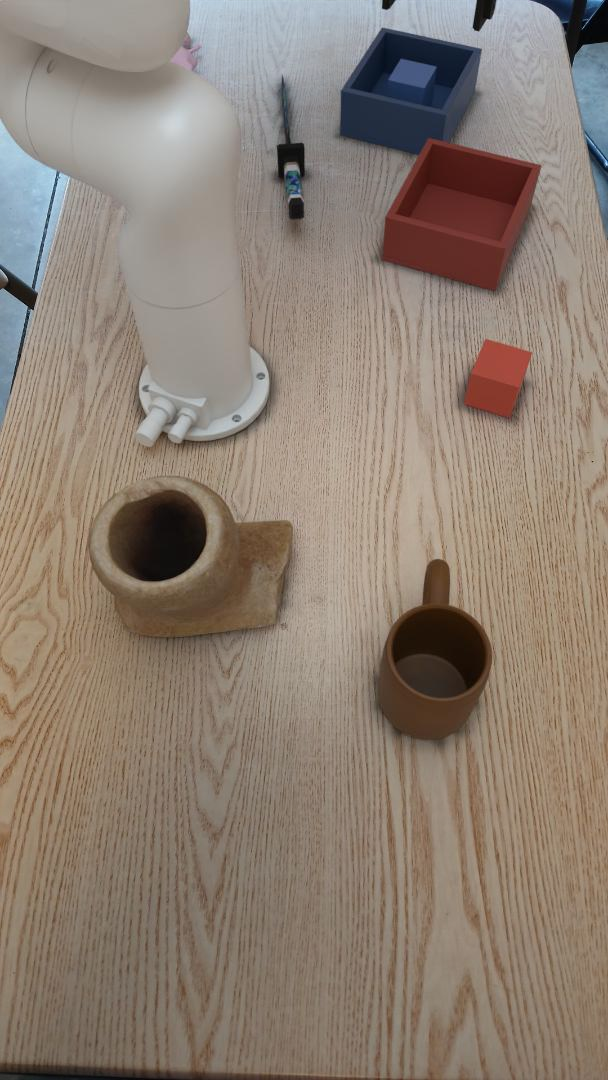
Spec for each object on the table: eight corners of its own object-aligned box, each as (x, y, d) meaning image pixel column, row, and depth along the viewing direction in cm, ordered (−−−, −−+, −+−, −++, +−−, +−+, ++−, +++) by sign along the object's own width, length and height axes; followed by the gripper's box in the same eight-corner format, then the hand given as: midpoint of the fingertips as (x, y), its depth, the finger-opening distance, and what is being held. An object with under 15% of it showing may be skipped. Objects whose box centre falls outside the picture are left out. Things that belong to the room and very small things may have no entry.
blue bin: (440, 159, 97) (446, 115, 92) (339, 135, 100) (340, 90, 95) (474, 93, 103) (482, 48, 98) (379, 72, 106) (382, 26, 101)
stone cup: (113, 670, 67) (62, 588, 54) (120, 541, 73) (76, 440, 60) (300, 658, 67) (295, 574, 54) (293, 531, 73) (286, 427, 60)
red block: (509, 418, 79) (519, 387, 75) (463, 404, 79) (471, 372, 76) (522, 383, 81) (532, 352, 77) (477, 370, 81) (485, 338, 78)
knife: (305, 241, 89) (305, 203, 85) (277, 241, 89) (275, 203, 85) (303, 97, 107) (302, 60, 103) (279, 97, 107) (278, 61, 103)
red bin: (495, 291, 87) (505, 248, 82) (381, 259, 89) (385, 216, 84) (530, 209, 93) (541, 164, 88) (422, 181, 95) (428, 137, 90)
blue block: (420, 124, 99) (424, 88, 96) (385, 115, 100) (387, 79, 96) (432, 102, 101) (437, 66, 98) (397, 94, 102) (400, 58, 98)
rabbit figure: (156, 53, 111) (153, 104, 102) (148, 3, 106) (144, 51, 97) (202, 50, 111) (204, 100, 102) (196, -1, 106) (197, 47, 97)
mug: (381, 597, 70) (389, 542, 61) (472, 604, 69) (492, 550, 61) (373, 738, 64) (381, 698, 56) (473, 747, 63) (496, 708, 55)
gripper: (346, -201, 69) (341, 13, 84) (548, -166, 66) (505, 52, 80) (380, -235, 73) (369, -23, 88) (574, -203, 69) (528, 13, 84)
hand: (434, 13), depth 84 cm, fingers open, 9 cm apart
